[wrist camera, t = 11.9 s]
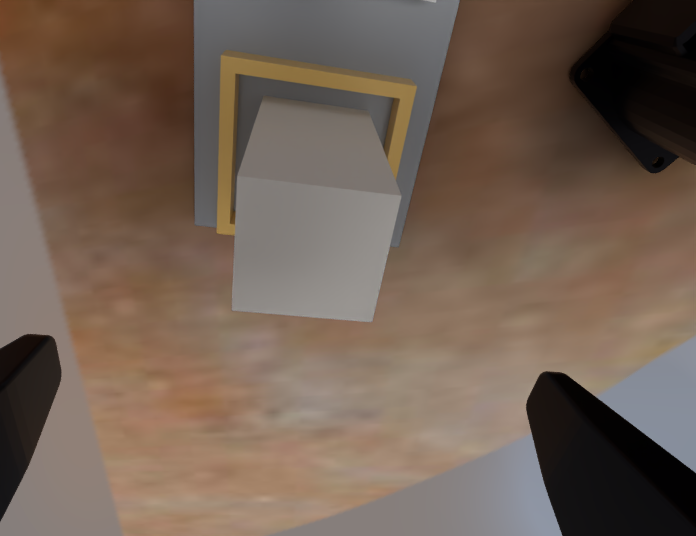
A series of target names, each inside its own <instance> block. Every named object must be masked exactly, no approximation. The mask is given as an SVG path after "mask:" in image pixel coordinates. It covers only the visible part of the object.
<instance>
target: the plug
mask: <svg viewBox="0 0 696 536" xmlns="http://www.w3.org/2000/svg"><path fill="white" fill-rule="evenodd" d="M400 201H401V193H400V190H399V188H398V185H397V183H396V180H395V178H394V175H393V173H392V170H391V167H390V165H389V162H388V160H387V157H386V155H385V152H384V150H383V147H382V144H381V142H380V139H379V137H378V134H377V132H376V129H375V127H374V124H373V121H372V119H371V116H370V114H369V111H366V110H359V109H352V108H345V107H339V106H332V105H325V104H318V103H311V102H304V101H297V100H290V99H283V98H277V97H270V96H263V99H262V102H261V105H260V108H259V111H258V114H257V117H256V120H255V123H254V126H253V129H252V132H251V136H250V139H249V142H248V145H247V148H246V151H245V154H244V157H243V160H242V163H241V166H240V169H239V172H238V175H237V194H236V218H235V242H234V266H233V290H232V311H242V312H255V313H267V314H279V315H291V316H303V317H315V318H327V319H339V320H351V321H363V322H372V321H373V316H374V312H375V308H376V304H377V299H378V295H379V291H380V286H381V282H382V278H383V274H384V269H385V265H386V261H387V256H388V252H389V248H390V244H391V239H392V235H393V231H394V226H395V222H396V218H397V214H398V209H399V205H400Z"/></svg>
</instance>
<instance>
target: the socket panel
mask: <svg viewBox="0 0 696 536" xmlns="http://www.w3.org/2000/svg"><path fill="white" fill-rule="evenodd" d="M459 2H460V0H194V171H195V225H197V226H207V227H216V228H217V234H226V235H235V218H236V194H237V175H238V172H239V169H240V166H241V163H242V160H243V157H244V154H245V151H246V148H247V145H248V142H249V139H250V136H251V132H252V129H253V126H254V123H255V120H256V117H257V114H258V111H259V108H260V105H261V102H262V99H263V96H270V97H277V98H283V99H290V100H297V101H304V102H311V103H318V104H325V105H332V106H339V107H345V108H352V109H359V110H366V111H369V114H370V116H371V119H372V121H373V124H374V127H375V129H376V132H377V134H378V137H379V139H380V142H381V144H382V147H383V150H384V152H385V155H386V157H387V160H388V162H389V165H390V167H391V170H392V173H393V175H394V178H395V180H396V183H397V185H398V188H399V190H400V193H401V201H400V205H399V209H398V214H397V218H396V222H395V226H394V231H393V235H392V239H391V244H390V246H391V247H399V244H400V240H401V236H402V232H403V228H404V224H405V219H406V215H407V211H408V207H409V203H410V199H411V195H412V191H413V187H414V183H415V179H416V175H417V171H418V167H419V163H420V159H421V155H422V151H423V147H424V143H425V139H426V135H427V131H428V127H429V123H430V119H431V115H432V111H433V106H434V102H435V98H436V94H437V90H438V86H439V82H440V78H441V74H442V70H443V66H444V62H445V58H446V54H447V50H448V46H449V42H450V38H451V34H452V30H453V26H454V22H455V18H456V14H457V10H458V6H459Z"/></svg>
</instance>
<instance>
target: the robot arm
mask: <svg viewBox="0 0 696 536" xmlns="http://www.w3.org/2000/svg"><path fill="white" fill-rule="evenodd" d="M586 68H588V70H589V72H588V75H587V76H586V77H585V78H584V79H581V78H580V76H581V73H582V71H583V70H584V69H586ZM570 80H571V83H572V84H573V85H574V86H575V87H576V89H577V90H578V91H579V92H580V93H581V95H582V96H583V97H584V98H585V99H586V101H587V102H588V103H589V104H590V105H591V107H592V108H593V109H594V110H595V111H596V113H597V114H598V115H599V116H600V117H601V118H602V120H603V121H604V122H605V123H606V124H607V126H608V127H609V128H610V129H611V130H612V132H613V133H614V134H615V135H616V136H617V138H618V139H619V140H620V141H621V142H622V144H623V145H624V146H625V147H626V148H627V149H628V151H629V152H630V153H631V154H632V155H633V157H634V158H635V159H636V160H637V161H638V163H639V164H640V165H641V166H642V167H643V168H644V169H646V170H647V171H649V172H650V173H658V172H661V171H662V170H664V169H665V168H666V167H667V166H669V165H670V164H671V163H672V162H674V161H675V160H676V159H677V158H678V157H681V158H683V159H685V160H686V161H688V162H690V163H692V164H694V165H696V0H634V1H633V2H631V3H630V4H629V5H628V6H627V7H626V8H625V9H624V10H623V11H622V12H621V13H620V14H619V15H618V16H617V17H616V18H615V19H614V20H613V21H612V23H611V26H610V29H609V31H608V32H607V33H606V34H605V35H604V36H603V37H602V38H601V39H600V40H599V41H598V42H597V43H596V44H595V45H594V46H593V47H592V48H591V49H590V50H589V51H588V52H587V53H586V54H585V55H584V56H582V57H581V58H580V59H579V60H578V61H577V62H576V63H575V65H574V66H573V67H572V68H571V71H570ZM657 157H659V158H658V161H657V162H656V163H654V164H652V163H653V161H654V159H655V158H657ZM60 381H61V366H60V361H59V356H58V351H57V346H56V342H55V339H54V338H53V337H52V336H49V335H37V334H27V335H24V336H21V337H20V338H18V339H16V340H15V341H13V342H11V343H9V344H7V345H6V346H4V347H2V348H0V521H1V519H2V518H3V516H4V514H5V512H6V510H7V508H8V506H9V504H10V502H11V500H12V498H13V496H14V494H15V492H16V490H17V488H18V486H19V484H20V482H21V480H22V478H23V476H24V474H25V472H26V470H27V468H28V466H29V463H30V461H31V458H32V456H33V453H34V451H35V448H36V446H37V443H38V440H39V438H40V435H41V432H42V429H43V427H44V424H45V422H46V419H47V417H48V414H49V411H50V409H51V406H52V403H53V400H54V398H55V395H56V392H57V390H58V387H59V385H60ZM526 411H527V416H528V420H529V424H530V428H531V432H532V436H533V440H534V444H535V448H536V453H537V457H538V461H539V465H540V469H541V473H542V477H543V480H544V484H545V487H546V490H547V493H548V496H549V499H550V502H551V505H552V507H553V510H554V513H555V516H556V519H557V522H558V524H559V527H560V530H561V532H562V536H696V473H695V472H694V471H692V470H691V469H690V468H688V467H687V466H686V465H684V464H683V463H682V462H681V461H679V460H678V459H677V458H675V457H674V456H672V455H671V454H670V453H669V452H667V451H666V450H665V449H663V448H662V447H661V446H660V445H658V444H657V443H655V442H654V441H653V440H652V439H650V438H649V437H648V436H646V435H645V434H644V433H642V432H641V431H640V430H638V429H637V428H636V427H634V426H633V425H632V424H631V423H629V422H628V421H627V420H625V419H624V418H623V417H621V416H620V415H619V414H617V413H616V412H615V411H614V410H612V409H611V408H610V407H608V406H607V405H606V404H604V403H603V402H602V401H600V400H599V399H598V398H596V397H595V396H594V395H592V394H591V393H590V392H589V391H587V390H586V389H585V388H583V387H582V386H581V385H579V384H578V383H577V382H575V381H574V380H573V379H571V378H570V377H569V376H568V375H566V374H564V373H561V372H548V371H546V372H543V373H541V374H540V376H539V377H538V379H537V381H536V383H535V385H534V387H533V389H532V391H531V393H530V395H529V397H528V400H527V404H526Z"/></svg>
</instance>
